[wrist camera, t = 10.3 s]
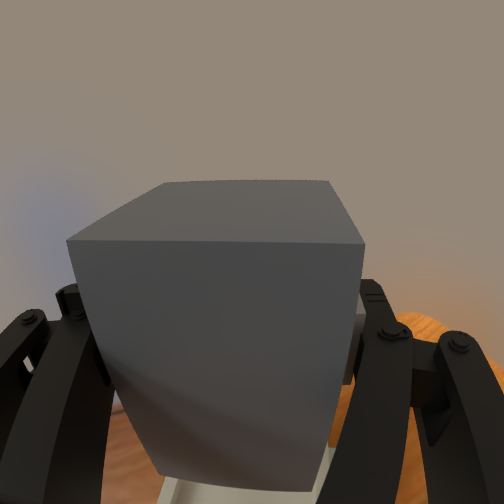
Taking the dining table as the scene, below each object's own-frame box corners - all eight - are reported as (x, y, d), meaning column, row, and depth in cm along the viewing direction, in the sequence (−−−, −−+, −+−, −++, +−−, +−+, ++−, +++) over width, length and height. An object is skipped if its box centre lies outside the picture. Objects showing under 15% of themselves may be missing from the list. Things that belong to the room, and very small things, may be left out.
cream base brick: (181, 556, 14) (147, 529, 11) (205, 468, 23) (187, 412, 20) (307, 569, 13) (328, 550, 10) (311, 476, 22) (327, 421, 18)
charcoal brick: (159, 474, 10) (65, 240, 6) (194, 378, 15) (164, 182, 11) (311, 491, 9) (365, 243, 5) (311, 386, 15) (328, 181, 11)
